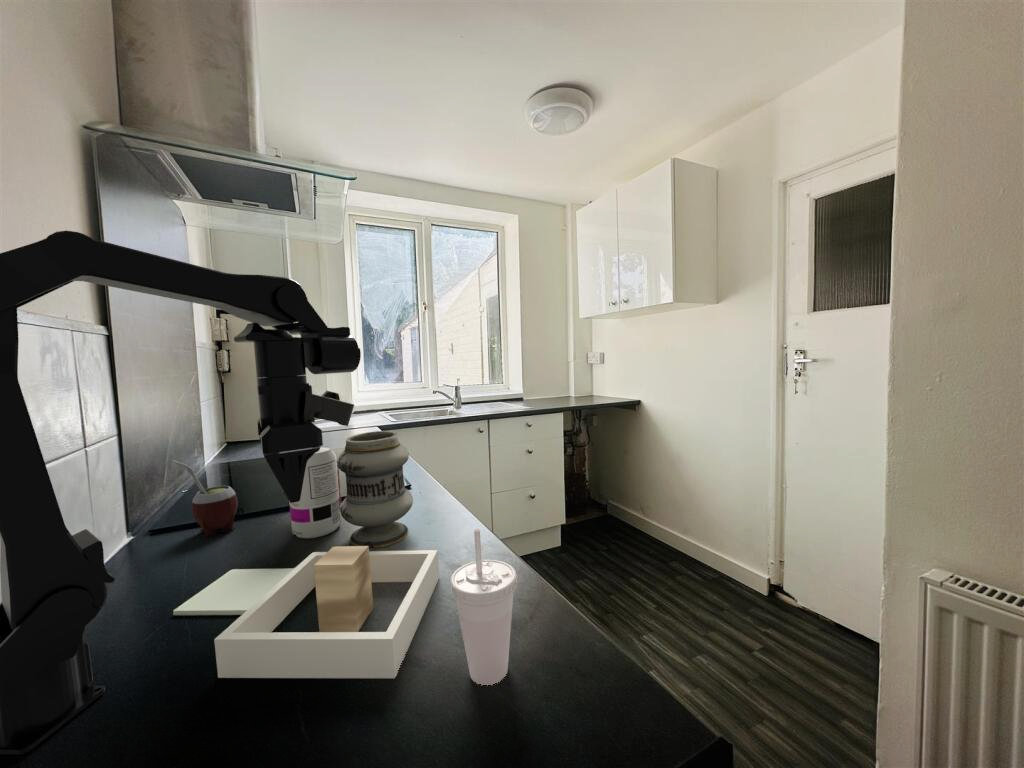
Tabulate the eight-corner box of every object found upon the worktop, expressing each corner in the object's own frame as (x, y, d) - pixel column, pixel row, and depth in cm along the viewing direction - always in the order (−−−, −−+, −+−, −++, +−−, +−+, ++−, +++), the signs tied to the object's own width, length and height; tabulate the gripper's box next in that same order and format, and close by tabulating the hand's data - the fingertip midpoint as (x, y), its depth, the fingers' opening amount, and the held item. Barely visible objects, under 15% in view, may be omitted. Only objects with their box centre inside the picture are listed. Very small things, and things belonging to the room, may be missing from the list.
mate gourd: (248, 523, 82) (241, 448, 81) (219, 541, 74) (210, 458, 73) (211, 524, 82) (203, 449, 81) (178, 542, 74) (169, 460, 73)
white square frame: (395, 678, 40) (392, 638, 40) (218, 677, 41) (214, 639, 41) (439, 577, 58) (437, 550, 58) (315, 579, 59) (312, 552, 59)
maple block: (357, 632, 47) (352, 564, 46) (319, 632, 47) (313, 565, 47) (373, 608, 52) (368, 546, 51) (338, 608, 52) (333, 546, 51)
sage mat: (249, 614, 51) (249, 610, 51) (173, 615, 52) (173, 610, 52) (296, 572, 61) (296, 568, 61) (232, 573, 62) (231, 569, 62)
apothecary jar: (331, 554, 66) (322, 444, 65) (356, 524, 78) (349, 430, 77) (406, 549, 67) (399, 440, 66) (420, 520, 79) (414, 427, 78)
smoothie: (487, 639, 45) (480, 513, 44) (534, 665, 41) (528, 527, 40) (441, 676, 40) (433, 535, 39) (491, 710, 36) (482, 554, 35)
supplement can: (287, 543, 71) (280, 458, 70) (298, 524, 79) (291, 448, 78) (337, 535, 74) (331, 452, 73) (343, 518, 82) (337, 443, 80)
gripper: (362, 373, 51) (370, 497, 52) (334, 372, 67) (341, 467, 68) (256, 380, 45) (268, 519, 46) (253, 377, 61) (261, 481, 62)
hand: (291, 492), depth 55 cm, fingers open, 9 cm apart
